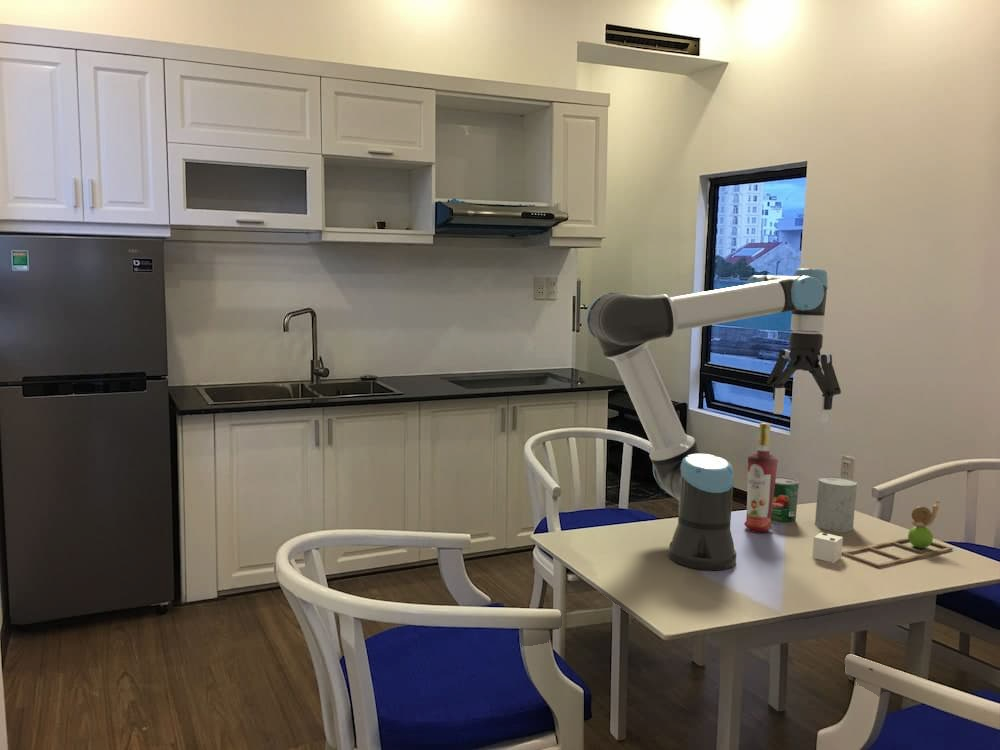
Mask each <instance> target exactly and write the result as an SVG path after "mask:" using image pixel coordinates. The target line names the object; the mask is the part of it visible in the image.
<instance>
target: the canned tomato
mask: <svg viewBox="0 0 1000 750" xmlns="http://www.w3.org/2000/svg"><path fill="white" fill-rule="evenodd" d="M799 483H800V481H799V480H797V479H794V478H792V477H784V476H776V481H775V488H774V495H773V503H772V512H771V523H774V524H779V525H793V524H795V523H796V522H797V521H796V519H797V508H798V498H799V497H798V496H799Z"/></svg>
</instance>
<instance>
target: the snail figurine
mask: <svg viewBox="0 0 1000 750" xmlns="http://www.w3.org/2000/svg"><path fill="white" fill-rule="evenodd" d="M935 503H936V504H934V505H933V506H932V510H930V509H929V508H928V507H926V506H922V505H921V506H920V505H919V506H917V507H915V508H914V509H913V510H912V512H911V518H912V521H911V524H912V525H913V527H911V528H910V529H909V531H908V535H907V538H908V539H909V541H908V542H909V543H910V544H911V545H912V546H914V548H919V549H924V548H928V547H929V546H931V545H930V544H931V543H932V542H934V541H933V540H934V539H933V538H934V536H933V533H932V531H931V530H930V528H928V527H929V526H931V525H933V523H934V522H935V520H936V517H937V514H938V510H939V509H940V506H939V505H940V503H941V502H940V500H938V499H936V501H935Z"/></svg>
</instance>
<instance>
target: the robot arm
mask: <svg viewBox="0 0 1000 750" xmlns="http://www.w3.org/2000/svg"><path fill="white" fill-rule="evenodd" d="M828 280H829V278H828V272H827V271H826V270H825V269H822V268H797V269H795V271H794V275H770V274H769V275H767V274H766V275H764V274H762V275H760V274H759V275H755V274H754V275H751V276H750V277H749V278H748V279H747V281H746V283H745V284H743V285H738V286H737V285H736V286H731V287H725V288H719V289H713V290H707V291H700V292H695V293H689V294H682V295H676V296H669V295H667V294H665V293H661V294H655V295H636V294H630V293H629V294H628V293H619V292H614V291H613V292H608V293H605V294H601V295H599V296H598V297H596V298H594V300H593V301H592V302H591V303H590V305H589V306H588V309H587V312H586V315H585V316H586V317H585V321H586V327H587V329H588V331H589V332H590V334H591V335H592V337H594V338H595V339H596V340H597V342H598V344H599V347H600V349H601V351H602V353H603V355H604V357H605V358H606V359H609V360H611V361H613V362H614V364H615V367H616V368H617V371H618V373H619V376H620V377H621V381H622V383H623V385H624V387H625V389H626V391H627V393H628V395H629V398H630V400H631V403H632V405H633V407H634V409H635V411H636V414H637V416H638V419H639V421H640V423H641V425H642V427H643V430H644V432H645V433H646V436H647V438H648V440H649V443H650V445H651V449H650V452H649V455H648V456H649V458H650V461H651V463H652V473H653V477H654V479H655V481H656V483H657V485H658V486H659V487H660V489H661V490H663V492H665V493H667V494H669V496H672V497H674V499H676V500H677V501H678V517H677V526H676V528H675V531H674V533H673V536H672V540H671V541H670V542H669V544H668V555H667V556H668V558H669V559H670V560H671V561H673V562H674V563H676V564H678V565H680V566H683V567H686V568H691V569H696V570H702V571H703V570H704V571H721V570H727V569H730V568H732V567H734V566H735V565H736V563H737V550H736V548H735V547H734V539H733V536H732V531H731V520H732V510H733V509H732V507H733V493H734V484H735V477H734V467H733V465H732V464H731V462H730V461H728V460H726V459H725V458H724V457H720V456H716V455H713V454H710V453H701V450H700V448H699V447H698V443H697V442H696V440H695V437H693V436H691V435H688V434H687V433H685V432H686V431H685V429H684V428H683V426H682V423H681V420H680V419H679V416H678V414H677V412H676V410H675V407H674V404H673V402H672V400H671V398H670V395H669V393H668V390H667V388H666V387H665V383H664V382H663V380H662V377H661V374H660V373H659V370H658V367H657V366H656V363H655V361H654V359H653V357H652V354H651V351H650V349H649V343H650V342H651V341H656V340H660V339H664V338H670V337H672V336H673V335H674V334H675V332H679V331H683V330H689V329H694V328H700V327H706V326H712V325H718V324H724V323H728V322H734V321H739V320H746V319H751V318H757V317H762V316H767V315H772V314H773V315H774V314H779V313H785V312H786V313H787V312H791V321H790V330H791V331H792V332H790V334H789V347H790V349H780V350H779V353H778V358H777V359H776V360H777V361H776V363H775V364H774V366H773V368H772V370H771V372H770V374H769V377H768V378H767V381H766V383H767V384H768V385H770V386H772V388H773V389H772V400H773V402H774V403H773V414H775V415H779V414H780V415H781V414H784V405H785V393H786V388H785V384H786V383H787V382H788V380H789V379H790V378H791V377H792V376H793V374H795V372H796V371H797V370H798V371H804V372H805V371H807V372H808V373H809V374H811V376H812V377H813V379H814V381H815V382H816V384H817V386H818V387H819V389H820V391H821V393H822V394H821V395H820V396H819V407H818V418H817V423H818V424H826V423H827V424H828V423H829V417H830V416H829V415H830V410H832V409H833V398H834V396H836V395H837V396H838V395H841V394H842V391H841V387H840V385H839V384H840V383H839V381H838V377H837V376H836V372H835V369H834V365H833V356H832V354H827V353H826V354H824V353H823V354H821V349H822V348H823V340H824V339H823V338H824V335H823V334H822V332H823V331H824V328H825V327H824V326H825V313H826V303H827V295H828V294H827V291H828ZM789 359H790V361H789Z"/></svg>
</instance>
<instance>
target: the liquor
mask: <svg viewBox="0 0 1000 750" xmlns="http://www.w3.org/2000/svg"><path fill="white" fill-rule="evenodd" d="M771 426H772V425H771V423H768V422H760V423H759V430H758V431H759V438H758V439H759V440H758V445H757V451H756V452H755V453H752V454H750V455H749V456H748V457H747V477H746V478H747V479H746V480H747V482H746V483H747V484H746V485H747V488H746V490H747V493H746V494H747V496H746V497H747V498H746V518H745V519H746V520H745V522H744V523H743V524H744V526H745V527H746V528H747V529H748V531H750V532H752V533H757V534H764V533H767V532H769V531H770V530H771V529H772V528H773V525H772V522H771V512H772V503H773V495H774V488H775V481H776V477H777V473H778V472H777V470H778V464H779V463H778V462H779V460H778V459H777V457H775V456H774V455H772V454H770V434H771Z"/></svg>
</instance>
